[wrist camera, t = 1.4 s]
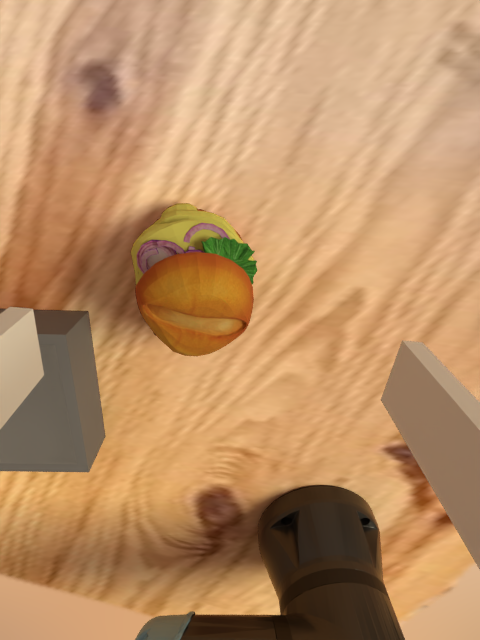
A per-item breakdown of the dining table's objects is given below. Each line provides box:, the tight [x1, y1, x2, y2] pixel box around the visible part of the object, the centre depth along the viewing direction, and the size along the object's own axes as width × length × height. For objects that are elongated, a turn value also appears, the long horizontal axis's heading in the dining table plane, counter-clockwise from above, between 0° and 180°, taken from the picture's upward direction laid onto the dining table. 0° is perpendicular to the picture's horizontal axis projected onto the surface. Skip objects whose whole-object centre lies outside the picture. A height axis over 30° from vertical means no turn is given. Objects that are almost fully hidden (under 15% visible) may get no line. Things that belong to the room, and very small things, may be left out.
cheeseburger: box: [131, 203, 257, 356], centre depth 29 cm, size 10×11×10 cm
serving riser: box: [0, 309, 105, 472], centre depth 34 cm, size 15×15×5 cm
